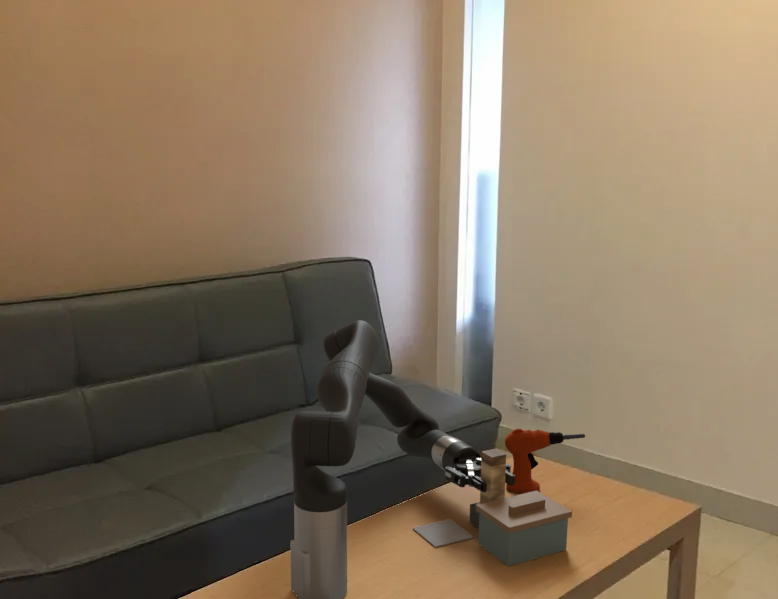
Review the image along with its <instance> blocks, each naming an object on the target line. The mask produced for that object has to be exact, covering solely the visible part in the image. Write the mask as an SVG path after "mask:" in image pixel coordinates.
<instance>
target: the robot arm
mask: <svg viewBox="0 0 778 599" xmlns="http://www.w3.org/2000/svg"><path fill="white" fill-rule="evenodd" d="M378 338H379V337H378V335H377V333H376V330H375V329H374V328H373V326H372V325H371V324H370V323H368V321H365V320H361V319H359V320H358V319H357V320H353V321H351V322H350V323H347V324H345V325H344V326H342V327H341V326H340V327H339V328H337V329H335V330H334V331H332V332H330V333H328V334H327V335H326V336H325V337H324V339H323V349H324V353H325V355H326V357H327V358H328V360H329V362H328V363H327V364H326V365H325V367H324V369H323V370H322V372H321V374H320V376H319V377H320V378H319V380H318V384H317V387H316V394H317V399H318V401H319V403H320V405H321V407H322V408H323V409H324V410H325V411H321V410H320V411H319V410H317V411H315V410H314V411H313V410H303V411H302V410H300V411H299V412H297V413H296V414H295V416H294V417H293V420H292V424H291V428H290V448H291V461H292V462H291V463H292V476H293V477H292V478H293V479H292V480H293V506H294V507H293V511H294V512H293V514H294V516H293V517H294V518H293V521H294V522H293V524H294V527H293V529H294V537H293V538H294V539H292V540H290V587H291V588H290V589H292V590H293V591H294V593H295V594H296V595H297V596H296V595H295V594H294V593H293V594H294V595H295V596H296V598H297V597H298V598H299V599H343V598H344V597H346V595H347V592H348V488H347V486H346V483H345V482H344V481H343V480H342V479H340V478H338V477H335V476H333V475H331V474H328V473H326V472H325V471H323V470H321V469H320V468H319V467H342V466H346V465H347V464H349V462H350V461H351V460H352V458H353V455H354V452H355V449H356V442H357V434H358V425H359V416H360V412H361V410H362V409H361V407H362V405H363V400H364V398H365V396H366V397H368V398H369V400H371V402H372V403H374V405H375V406H376V407H377V408H378V409H379V411H380V412H381V413H382V415H384V417H385V418H386V419H387V421H388V422H389V423H390V424H391V425H392V426H393V427H395V428H402V429H401V430H400V431H399V432H398V434H397V437H396V440H397V444H398V447H399V448H400V450H401V451H402V452H404V453H406V454H407V455H410V456H412V457H415V458H421V459H422V458H423V459H428V460H430V461H432V462H433V463H434V464H436V465H437V466H438V467H439V468H440V469H442V470H444V471H445V474H444V475H445V477H444V478H445V479H444V480H447V481H448V482H450V483H451V484H454V485H456V486H458V487H460V488H465V487H466V486H468V487H469V488H474V489H475V490H477V491H479V492H480V491H481V492H486V491H487V483H486V481H484V480H483V479H481V454H480V453H479V451H478V450H477V449H476V448H474V447H473V446H471V445H470V444H467V443H466V442H464V441H463V440H460V439H458V438H457V437H454V436H452V435H450V434H448V433H446V432H445V431H443V430H440V426H439V423H438V421H437V420H436V419H435V418H434V417H433V416H431V415H430V414H428V413H426V412H425V411H423V410H422V409H420V408H419V407H418V406H417V405H416V404H414V402H413V400H411V399H410V397H409V395H407V393H406V392H405V391H404V389H403V388H402V387H401V386H400V385H398V384H397V383H395V382H394V381H392V380H390V379H387V378H384V377H381V376H379V375H376V374H373V373H372V372H371V370H372V367H373V365H374V363H375V360H376V359H377V358H378V355H379V350H380V348H379V347H380V346H379V345H380V344H379V339H378ZM511 469H512V465H511V464H510V463H508V462H507V461H506V473H505V484H508V485H510V486H513V485H515V475H513V474H512V473H511ZM292 590H291V591H292ZM293 591H292V592H293ZM298 598H297V599H298Z"/></svg>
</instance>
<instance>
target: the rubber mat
mask: <svg viewBox="0 0 778 599" xmlns="http://www.w3.org/2000/svg"><path fill="white" fill-rule="evenodd" d="M413 529H414V530H413ZM412 530H413V531H415V533H417V534H418V535H419V534H420V535H419V536H420V537H422V538H423V539H424V540H425V541H426V542H428V543H429V544H430V543H431V544H432V545H431V544H430V545H431V546H433V547H434V548H435V549H436V547H437V548H441V547H444V546H447V545H452V544H456V543H459V541H460V542H463V540H464V541H467V540H471V539H474V536H473V534H471V533H470V532H468V531H467V530H465V529H464V528H463V527H462V526H460V525H458V523H456V522H454V521H453V520H452V519H451V518H446V519H444V520H439V521H435V522H431V523H426V524H423V525H419V526H414V527H412ZM455 542H456V543H455ZM451 543H452V544H451ZM443 545H444V546H443ZM440 546H441V547H440Z"/></svg>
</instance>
